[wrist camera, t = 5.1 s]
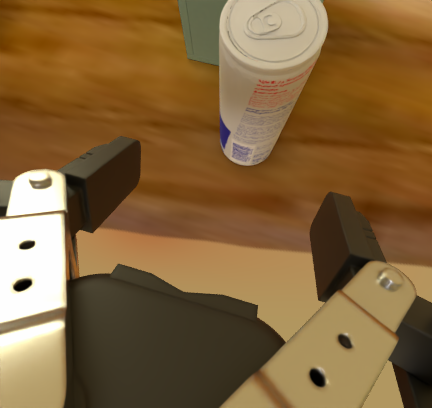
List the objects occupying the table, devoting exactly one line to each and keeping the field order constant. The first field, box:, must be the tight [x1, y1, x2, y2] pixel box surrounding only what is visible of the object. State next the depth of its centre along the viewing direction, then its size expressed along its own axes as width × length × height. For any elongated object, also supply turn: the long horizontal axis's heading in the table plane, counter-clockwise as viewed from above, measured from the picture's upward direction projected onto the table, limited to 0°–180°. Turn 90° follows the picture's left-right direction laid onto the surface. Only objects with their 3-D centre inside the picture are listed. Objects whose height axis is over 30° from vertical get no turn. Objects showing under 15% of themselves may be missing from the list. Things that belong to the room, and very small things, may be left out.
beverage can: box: [219, 0, 328, 166], centre depth 21 cm, size 6×6×15 cm
